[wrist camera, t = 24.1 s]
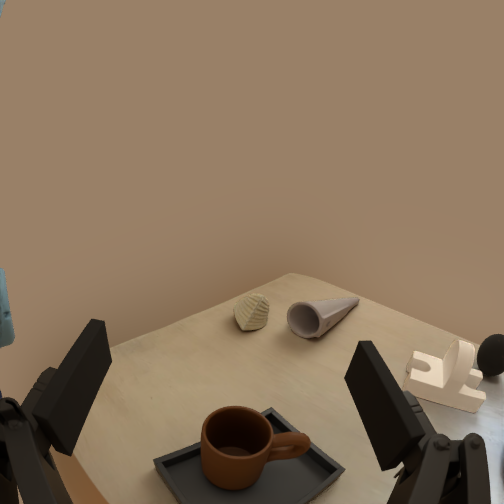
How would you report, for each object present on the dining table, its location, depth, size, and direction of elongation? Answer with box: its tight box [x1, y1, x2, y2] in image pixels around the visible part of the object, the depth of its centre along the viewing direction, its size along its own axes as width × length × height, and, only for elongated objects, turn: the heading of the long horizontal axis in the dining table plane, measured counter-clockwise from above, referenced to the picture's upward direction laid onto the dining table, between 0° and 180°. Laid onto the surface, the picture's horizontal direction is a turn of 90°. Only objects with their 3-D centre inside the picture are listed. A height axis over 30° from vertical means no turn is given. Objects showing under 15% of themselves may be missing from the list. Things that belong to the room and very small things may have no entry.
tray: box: [153, 407, 345, 504], centre depth 27 cm, size 15×19×3 cm
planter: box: [287, 297, 359, 338], centre depth 69 cm, size 8×9×26 cm
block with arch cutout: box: [403, 339, 486, 413], centre depth 41 cm, size 18×10×11 cm, turn 58°
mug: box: [201, 406, 311, 490], centre depth 27 cm, size 12×8×9 cm, turn 89°
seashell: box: [234, 294, 269, 330], centre depth 62 cm, size 8×8×8 cm
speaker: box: [477, 334, 504, 376], centre depth 45 cm, size 10×10×10 cm
